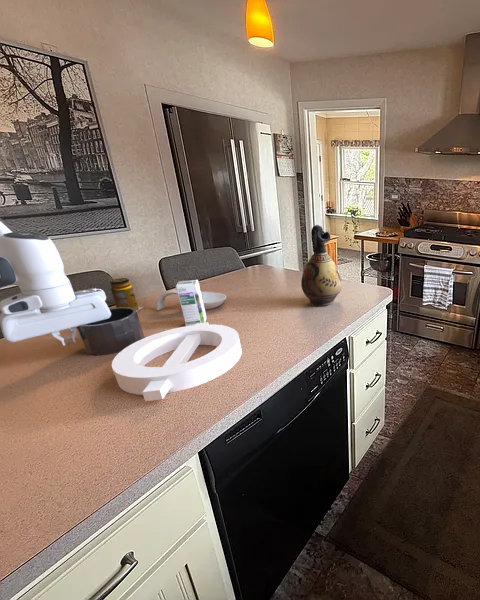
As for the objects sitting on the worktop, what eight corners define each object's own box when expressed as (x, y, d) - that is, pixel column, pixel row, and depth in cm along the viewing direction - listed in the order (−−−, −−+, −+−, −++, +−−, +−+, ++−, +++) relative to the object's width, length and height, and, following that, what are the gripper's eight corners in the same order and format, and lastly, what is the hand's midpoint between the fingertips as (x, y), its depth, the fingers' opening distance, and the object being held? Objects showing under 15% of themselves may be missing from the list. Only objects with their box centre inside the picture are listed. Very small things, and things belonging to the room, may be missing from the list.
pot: (95, 360, 88) (83, 330, 85) (78, 346, 95) (67, 318, 92) (152, 340, 99) (144, 313, 96) (134, 329, 106) (125, 304, 103)
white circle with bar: (206, 330, 105) (203, 317, 104) (262, 353, 92) (260, 338, 90) (97, 372, 83) (91, 356, 81) (151, 410, 70) (145, 392, 68)
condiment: (144, 307, 124) (135, 277, 119) (128, 316, 116) (117, 284, 112) (125, 307, 123) (115, 277, 119) (107, 316, 116) (96, 284, 111)
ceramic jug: (349, 304, 128) (345, 227, 118) (311, 312, 120) (303, 230, 109) (332, 292, 141) (327, 222, 131) (296, 298, 133) (288, 224, 122)
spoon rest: (231, 300, 131) (228, 283, 128) (222, 311, 120) (218, 293, 118) (167, 303, 127) (162, 286, 125) (151, 315, 116) (145, 297, 114)
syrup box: (185, 327, 108) (174, 285, 103) (188, 320, 113) (178, 280, 108) (205, 324, 110) (195, 283, 105) (207, 317, 115) (198, 278, 110)
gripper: (99, 283, 93) (114, 327, 98) (-11, 304, 78) (13, 354, 83) (105, 288, 89) (120, 333, 94) (-10, 310, 74) (15, 362, 79)
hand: (69, 343), depth 88 cm, fingers closed
